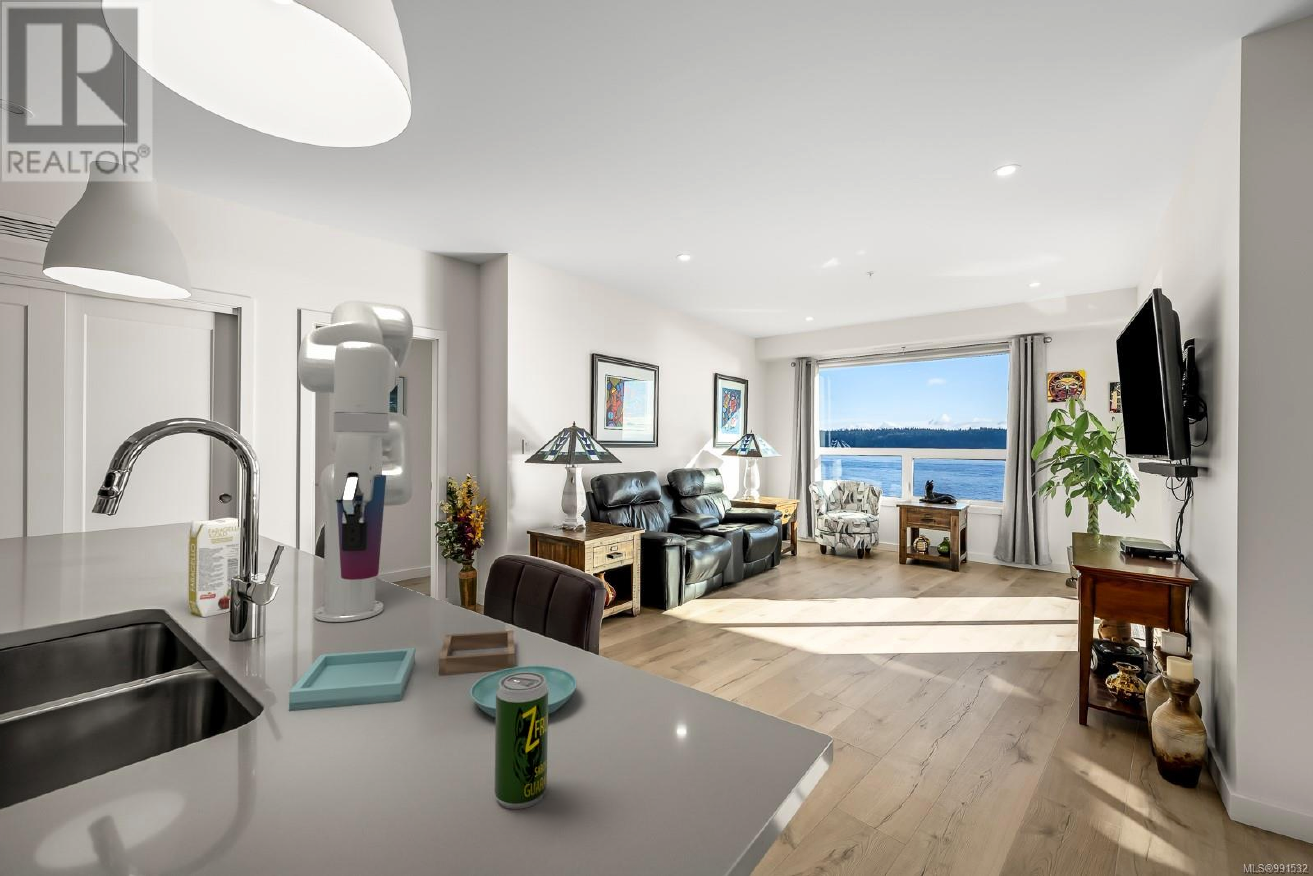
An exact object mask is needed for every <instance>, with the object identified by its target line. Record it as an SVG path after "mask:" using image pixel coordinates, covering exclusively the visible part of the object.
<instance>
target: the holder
mask: <svg viewBox="0 0 1313 876" xmlns="http://www.w3.org/2000/svg"><path fill="white" fill-rule="evenodd" d="M514 634H515V633H514V630H501V631H486V632H485V631H484V632H472V633H471V632H470V633H469V632H468V633H453V634H445V638H444V641H443V644H442V647H441V650H440V654H439V657H438V676H443V675H458V674H469V673H480V672H482V673H483V672H497V671H501V670H504V669H508V668H514V667H515V639H514V637H515V636H514ZM492 648H493V649H494V648H495V649H496V648H507V651H504V652H503V651H502V652H501V651H500V652H489V653H487V652H485V653H475V654H461V655H451V654H452V652H453V651H464V650H466V651H467V650H479V649H481V650H483V649H492Z"/></svg>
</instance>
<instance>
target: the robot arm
mask: <svg viewBox="0 0 1313 876" xmlns="http://www.w3.org/2000/svg"><path fill="white" fill-rule="evenodd" d="M413 338H414V325H413V320H412V316H411V314H410V313H409V312H408V310H407V309H405V308H404V307H402V306H400V305H398V304H397V305H396V304H389V303H388V304H387V303H381V302H380V303H379V302H369V301H362V300H348V301H343V302H342V303H339V304H338V305H337V306H335V307H334V308H333V311H332V313H331V317H330V324H329V325H325V326H321V327H318V328H315V329H312V330H311V331H309V332H307V334H305V335H304V337H303V338H302V341H301V343H300V347H299V353H298V357H297V358H298V359H297V373H298V374H297V376H298V378H299V379H298V380H299V382H300V384H301V385H302V386H303V387H304V388H305V390H307V391H310V392H313V393H317V394H328V395H329V407H328V409H329V410H328V411H329V416H328V423H329V424H328V427H329V428H328V434H329V435H328V437H329V444H330V447H331V449H332V451H333V452H334V455H335V456H334V463H330V464H328V465H327V466H326V467H325V468H324V469H323V470H322V472H321V475H320V481H319V482H320V492H321V498H322V505H323V515H324V555H323V556H324V559H323V561H324V566H323V567H324V568H323V605H322V606H320V607H318V608H317V609H315V611H314V619H316V620H318V621H322V622H327V623H328V622H329V623H340V622H341V623H343V622H344V623H345V622H353V621H359V620H363V619H368V618H371V617H374V616H376V615H379V614H380V613H382V612H383V610H384V603H382V602H381V601H380V600H379V601H378V600H376V583H377V582H376V578H377V576H375V577H372V578H367V579H358V580H348V579H343V578H341V568H340V549H339V531H338V513H337V503H341V501H340V502H339V500H341V499H343V506H344V508H343V518H342V550H343V551H364V550H366V549H367V522H365V515H366V505H367V503H368V502H370V501H371V500H372V495H373V488H374V477H379V476H381V474H382V475H386V485H385V498H384V507H386V506H387V507H388V506H389V507H390V506H401V505H405V504H407V503H409V502H410V500H411V499H412V497H413V493H414V457H413V456H414V455H413V433H412V431H413V430H412V425H411V422H410V420H409V418H408V417H407V416H406V415H404V414H402V413H398V412H392V411H391V412H390V410H391V409H390V405H391V404H390V401H391V400H390V398H391V394H390V393H391V392H392V391H393V390H394V389H395V387H396V386H398V384H399V377H400V370H399V369H401V368H402V367H404V366H405V364H406V362H407V360H408V357H409V353H410V349H411V346H412V342H413ZM383 457H386V458H387V459H389V460H383ZM358 486H359V487H358ZM344 491H345V493H344ZM343 493H344V497H343V498H342V495H343ZM356 495H359V496H363V498H362V501H355V498H356ZM358 506H361V508H359V507H358ZM359 510H360V512H359Z"/></svg>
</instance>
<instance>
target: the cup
mask: <svg viewBox="0 0 1313 876" xmlns="http://www.w3.org/2000/svg"><path fill="white" fill-rule="evenodd" d="M385 485H386V475H382V474H381V476H379V477H374V488H373V495H372V500H371V501H370V502H368V503H367V505H366V515H365V522H367V549H366V550H364V551H343V550H342V518H343V508H344V506H343V499H341V500H339V502H340V501H341V503H337V513H338V531H339V549H340V568H341V578H343V579H348V580H358V579H367V578H372V577H375V576H376V577H377V576H378V575H379V570H380V558H381V548H382V547H381V545H382V533H383V521H384V520H383V519H384V508H385V506H384V498H385ZM358 487H359V486H358ZM344 493H345V491H344ZM344 493H343V495H342V498H343V497H344ZM362 498H363V496H359V495H356V498H355V501H362ZM358 507H359V508H361V506H358ZM359 512H360V510H359Z"/></svg>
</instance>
